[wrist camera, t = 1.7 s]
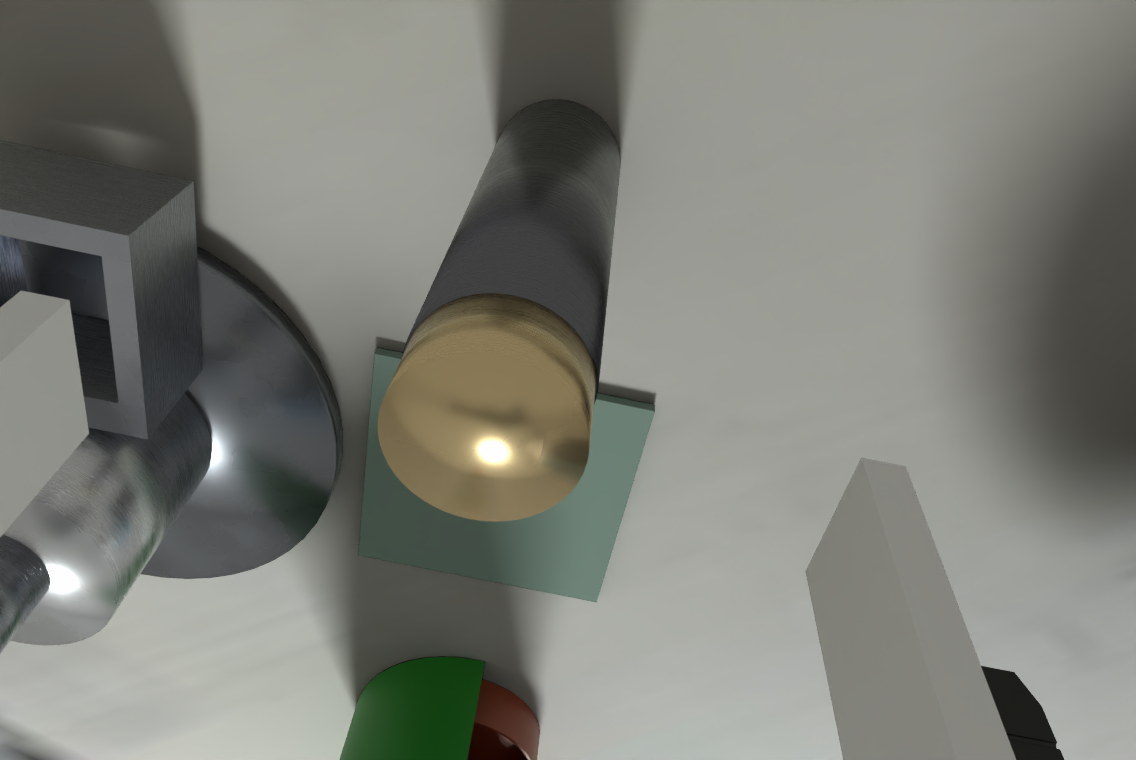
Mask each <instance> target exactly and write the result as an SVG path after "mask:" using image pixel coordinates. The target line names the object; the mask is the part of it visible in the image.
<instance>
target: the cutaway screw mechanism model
mask: <svg viewBox="0 0 1136 760" xmlns="http://www.w3.org/2000/svg"><path fill="white" fill-rule="evenodd" d="M484 664H485V662H483V661H479V660H473V659H467V658H458V657H431V658H422V659H416V660H412V661H408V662H404V663H401V664H398V665H396V666H393V667H391V668H389V669H387V670H385V671H383V672H382V673H380V674H379V675H377V676H376V677H375V678H373V679H372V680H371V681H370V682H369V683H368V684H367V685H366V687H365V688H364V689H363V691H362V693H361V695H360V697H359V699H358V702H357V706H356V709H355V712H354V715H353V718H352V722H351V725H350V728H349V731H348V734H347V738H346V741H345V744H344V747H343V750H342V754H341V757H340V760H537V754H538V745H539V735H540V730H539V725H538V721H537V719H536V717H535V715H534V713H533V712H532V710H531V709H530V708H529V707H528V705H527V704H526V703H525V702H524V701H522V700H521V699H520V698H519V697H518V696H516V695H515V694H513V693H512V692H510V691H508V690H507V689H505V688H503V687H501V686H498V685H496V684H494V683H491V682H488V681H485V680H482V675H483V670H484Z"/></svg>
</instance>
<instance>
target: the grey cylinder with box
mask: <svg viewBox="0 0 1136 760" xmlns="http://www.w3.org/2000/svg"><path fill="white" fill-rule="evenodd" d="M19 239H21V240H26V241H31V242H35V243H40V244H45V245H50V246H55V247H59V248H64V249H69V250H74V251H79V252H83V253H88V254H93V255H98V256H102V265H103V273H104V282H105V291H106V299H107V308H108V316H109V322H107V321H102V320H98V319H93V318H88V317H83V316H78V315H73V314H71V315H72V321H73V328H74V335H75V342H76V348H77V355H78V362H79V369H80V375H81V382H82V389H83V396H84V402H85V409H86V416H87V423H88V429H89V434H88V435H87V436H86V438H85V439H84V440H83V441H82V442H81V444H80V445H79V446H78V447H77V448H76V449H75V451H74V452H73V453H72V454H71V455H70V456H69V458H68V459H67V460H66V461H65V462H64V463H63V465H62V466H61V467H60V468H59V469H58V470H57V472H56V473H55V474H54V475H53V476H52V477H51V479H50V480H49V481H48V482H47V483H46V484H45V486H44V487H43V488H42V489H41V490H40V492H39V493H38V494H37V495H36V496H35V497H34V499H33V500H32V501H31V502H30V503H29V504H28V506H27V507H26V508H25V509H24V510H23V511H22V513H21V514H20V515H19V516H18V517H17V518H16V520H15V521H14V522H13V523H12V524H11V525H10V527H9V528H8V529H7V530H6V531H5V532H4V534H3V535H2V536H1V537H0V653H1V652H2V651H3V649H4V648H5V647H6V645H7V644H8V643H9V642H10V640H11V641H15V642H20V643H26V644H33V645H62V644H69V643H74V642H78V641H81V640H84V639H86V638H89V637H91V636H93V635H94V634H96V633H97V632H99V631H100V630H101V629H102V628H103V627H105V626H106V625H107V623H108V622H109V620H110V619H111V617H112V616H113V614H114V613H115V611H116V610H117V608H118V607H119V605H120V604H121V602H122V601H123V599H124V598H125V596H126V595H127V593H128V592H129V590H130V589H131V587H132V586H133V584H134V583H135V581H136V580H137V578H138V577H139V575H140V574H141V572H142V570H143V569H144V567H145V566H146V564H147V563H148V561H149V560H150V558H151V557H152V555H153V554H154V552H155V551H156V549H157V548H158V546H159V545H160V543H161V542H162V540H163V539H164V537H165V536H166V534H167V533H168V531H169V530H170V528H171V527H172V525H173V524H174V522H175V521H176V519H177V518H178V516H179V515H180V513H181V512H182V510H183V508H184V507H185V505H186V504H187V502H188V501H189V499H190V498H191V496H192V495H193V493H194V492H195V490H196V489H197V487H198V486H199V484H200V483H201V481H202V480H203V478H204V477H205V475H206V473H207V471H208V469H209V467H210V462H211V458H212V445H211V438H210V434H209V431H208V428H207V425H206V423H205V421H204V419H203V417H202V415H201V414H200V412H199V410H198V409H197V407H196V406H195V404H194V403H193V402H192V401H191V399H190V398H189V397H188V396H187V395H186V394H185V392H186V390H187V389H188V388H189V387H190V385H191V384H192V383H193V381H194V380H195V379H196V378H197V376H198V375H199V374H200V373H201V371H202V370H203V364H202V343H201V323H200V302H199V282H198V261H197V241H196V221H195V200H194V181H191V180H186V179H181V178H177V177H172V176H167V175H162V174H158V173H153V172H148V171H144V170H139V169H134V168H129V167H125V166H120V165H115V164H110V163H106V162H101V161H96V160H91V159H87V158H82V157H77V156H73V155H68V154H63V153H58V152H54V151H49V150H44V149H39V148H35V147H30V146H25V145H21V144H16V143H11V142H6V141H2V140H0V307H1V306H3V305H4V304H5V303H6V302H8V301H9V300H10V299H11V298H13V297H14V296H15V295H16V294H17V293H19V292H20V291H26V292H28V288H27V282H26V277H25V271H24V265H23V259H22V253H21V248H20V242H19Z"/></svg>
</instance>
